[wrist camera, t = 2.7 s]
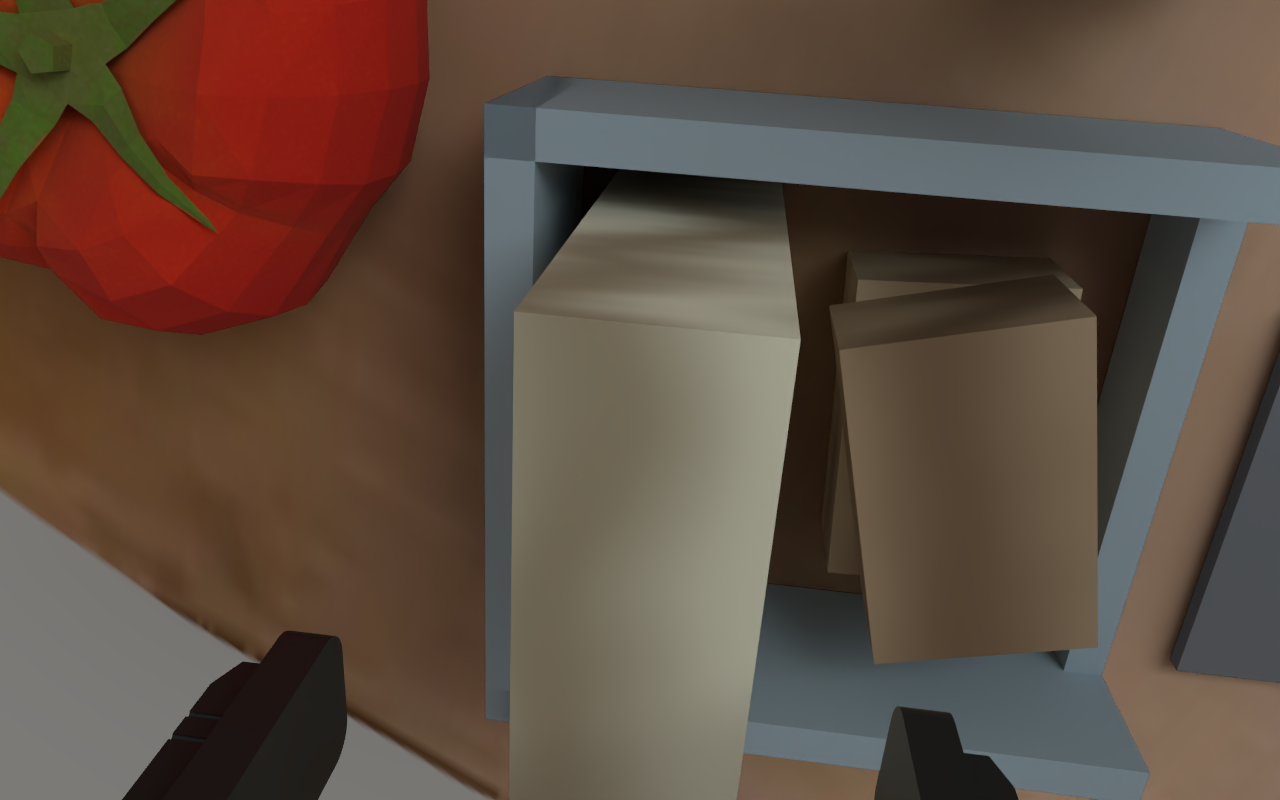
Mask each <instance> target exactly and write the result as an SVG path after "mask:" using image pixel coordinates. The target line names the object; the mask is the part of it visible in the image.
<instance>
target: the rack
mask: <svg viewBox="0 0 1280 800" xmlns="http://www.w3.org/2000/svg"><path fill="white" fill-rule="evenodd" d="M584 166H593V167H605V168H617V169H629V170H641V171H652V172H664V173H676V174H688V175H699V176H711V177H723V178H735V179H747V180H758V181H770V182H782V183H794V184H806V185H817V186H829V187H841V188H853V189H865V190H876V191H888V192H900V193H912V194H924V195H935V196H947V197H959V198H971V199H983V200H994V201H1006V202H1018V203H1030V204H1042V205H1053V206H1065V207H1077V208H1089V209H1101V210H1112V211H1124V212H1136V213H1148V214H1151V218H1150V221H1149V225H1148V228H1147V232H1146V235H1145V239H1144V242H1143V246H1142V250H1141V253H1140V257H1139V260H1138V264H1137V267H1136V271H1135V275H1134V278H1133V282H1132V285H1131V289H1130V292H1129V296H1128V299H1127V303H1126V307H1125V310H1124V314H1123V317H1122V321H1121V324H1120V328H1119V332H1118V335H1117V339H1116V342H1115V346H1114V349H1113V353H1112V356H1111V360H1110V364H1109V367H1108V371H1107V374H1106V378H1105V381H1104V385H1103V388H1102V392H1101V396H1100V399H1099V403H1098V406H1097V521H1098V648H1086V649H1072V650H1059V651H1045V652H1032V653H1019V654H1005V655H992V656H978V657H965V658H951V659H938V660H924V661H911V662H898V663H884V664H874V660H873V655H872V649H871V643H870V637H869V631H868V626H867V620H866V614H865V608H864V602H863V597H862V595H861V594H852V593H844V592H835V591H827V590H818V589H810V588H801V587H792V586H784V585H775V584H767V586H766V593H765V600H764V607H763V614H762V621H761V629H760V636H759V643H758V650H757V657H756V665H755V672H754V679H753V686H752V693H751V700H750V708H749V715H748V722H747V729H746V736H745V744H744V751H743V753H747V754H755V755H763V756H770V757H778V758H786V759H793V760H801V761H809V762H816V763H824V764H832V765H839V766H847V767H855V768H862V769H870V770H877V771H880V767H881V762H882V758H883V753H884V749H885V744H886V740H887V735H888V731H889V726H890V722H891V717H892V714H893V711H894V709H895V708H896V707H897V706H900V707H909V708H917V709H925V710H933V711H941V712H949V713H951V714H952V716H953V718H954V721H955V724H956V727H957V731H958V735H959V738H960V742H961V745H962V749H963V752H964V753H969V754H977V755H985V756H989V757H990V758H991V759H992V760H993V761H994V763H995V764H996V765H997V766H998V768H999V769H1000V770H1001V771H1002V773H1003V774H1004V775H1005V776H1006V778H1007V779H1008V780H1009V781H1010V782H1011V784H1012V785H1013V786H1014V788H1015V789H1023V790H1031V791H1038V792H1046V793H1054V794H1061V795H1069V796H1076V797H1084V798H1092V799H1099V800H1141V797H1142V794H1143V791H1144V789H1145V786H1146V783H1147V781H1148V778H1149V775H1150V772H1149V770H1148V768H1147V766H1146V764H1145V762H1144V760H1143V758H1142V756H1141V754H1140V752H1139V750H1138V748H1137V746H1136V744H1135V742H1134V739H1133V737H1132V735H1131V733H1130V731H1129V729H1128V727H1127V725H1126V723H1125V721H1124V719H1123V717H1122V715H1121V713H1120V711H1119V709H1118V707H1117V705H1116V703H1115V701H1114V699H1113V697H1112V695H1111V693H1110V691H1109V689H1108V687H1107V685H1106V683H1105V681H1104V679H1103V677H1102V673H1103V670H1104V667H1105V664H1106V661H1107V658H1108V655H1109V651H1110V648H1111V645H1112V642H1113V639H1114V636H1115V633H1116V630H1117V627H1118V624H1119V620H1120V617H1121V614H1122V611H1123V608H1124V605H1125V602H1126V599H1127V596H1128V593H1129V589H1130V586H1131V583H1132V580H1133V577H1134V574H1135V571H1136V568H1137V565H1138V562H1139V558H1140V555H1141V552H1142V549H1143V546H1144V543H1145V540H1146V537H1147V534H1148V531H1149V528H1150V524H1151V521H1152V518H1153V515H1154V512H1155V509H1156V506H1157V503H1158V500H1159V497H1160V493H1161V490H1162V487H1163V484H1164V481H1165V478H1166V475H1167V472H1168V469H1169V466H1170V462H1171V459H1172V456H1173V453H1174V450H1175V447H1176V444H1177V441H1178V438H1179V435H1180V431H1181V428H1182V425H1183V422H1184V419H1185V416H1186V413H1187V410H1188V407H1189V404H1190V401H1191V397H1192V394H1193V391H1194V388H1195V385H1196V382H1197V379H1198V376H1199V373H1200V370H1201V366H1202V363H1203V360H1204V357H1205V354H1206V351H1207V348H1208V345H1209V342H1210V339H1211V335H1212V332H1213V329H1214V326H1215V323H1216V320H1217V317H1218V314H1219V311H1220V308H1221V305H1222V301H1223V298H1224V295H1225V292H1226V289H1227V286H1228V283H1229V280H1230V277H1231V274H1232V270H1233V267H1234V264H1235V261H1236V258H1237V255H1238V252H1239V249H1240V246H1241V243H1242V239H1243V236H1244V233H1245V230H1246V227H1247V224H1248V222H1254V223H1266V224H1277V225H1280V147H1279V146H1276V145H1273V144H1270V143H1266V142H1263V141H1260V140H1257V139H1254V138H1251V137H1247V136H1244V135H1241V134H1238V133H1235V132H1231V131H1228V130H1225V129H1222V128H1212V127H1199V126H1186V125H1174V124H1161V123H1148V122H1135V121H1122V120H1109V119H1096V118H1083V117H1071V116H1058V115H1045V114H1032V113H1019V112H1006V111H993V110H981V109H968V108H955V107H942V106H929V105H916V104H903V103H890V102H878V101H865V100H852V99H839V98H826V97H813V96H800V95H788V94H775V93H762V92H749V91H736V90H723V89H710V88H698V87H685V86H672V85H659V84H646V83H633V82H620V81H607V80H595V79H582V78H569V77H556V76H546V77H543V78H541V79H539V80H537V81H534V82H532V83H530V84H527V85H525V86H523V87H521V88H518V89H516V90H514V91H512V92H509V93H507V94H505V95H503V96H500V97H498V98H496V99H494V100H491V101H489V102H487V103H485V104H484V306H485V695H486V719H487V720H495V721H502V722H510V651H511V555H512V460H513V364H514V311H515V310H516V308H517V307H518V306H519V304H520V303H521V302H522V300H523V299H524V298H525V296H526V295H527V294H528V292H529V291H530V289H531V288H532V287H533V285H534V284H535V283H536V281H537V280H538V279H539V277H540V276H541V275H542V273H543V272H544V271H545V269H546V268H547V267H548V265H549V264H550V262H551V261H552V260H553V258H554V257H555V256H556V254H557V253H558V252H559V250H560V249H561V248H562V246H563V245H564V244H565V242H566V241H567V240H568V238H569V237H570V235H571V234H572V233H573V231H574V230H575V229H576V227H577V226H578V225H579V223H580V222H581V221H582V199H583V174H584Z"/></svg>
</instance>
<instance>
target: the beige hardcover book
mask: <svg viewBox="0 0 1280 800" xmlns="http://www.w3.org/2000/svg"><path fill="white" fill-rule="evenodd" d="M800 341H801V338H800V329H799V321H798V313H797V304H796V296H795V288H794V279H793V271H792V263H791V255H790V246H789V238H788V230H787V221H786V213H785V205H784V196H783V188H782V182H770V181H758V180H747V179H735V178H723V177H711V176H699V175H688V174H676V173H664V172H652V171H641V170H629V169H619V171H618V172H617V173H616V175H615V176H614V177H613V179H612V180H611V181H610V183H609V184H608V185H607V187H606V188H605V190H604V191H603V192H602V194H601V195H600V196H599V198H598V199H597V200H596V202H595V203H594V204H593V206H592V207H591V208H590V210H589V211H588V213H587V214H586V215H585V217H584V218H583V219H582V221H581V222H580V223H579V225H578V226H577V227H576V229H575V230H574V231H573V233H572V234H571V235H570V237H569V238H568V240H567V241H566V242H565V244H564V245H563V246H562V248H561V249H560V250H559V252H558V253H557V254H556V256H555V257H554V258H553V260H552V261H551V262H550V264H549V265H548V267H547V268H546V269H545V271H544V272H543V273H542V275H541V276H540V277H539V279H538V280H537V281H536V283H535V284H534V285H533V287H532V288H531V289H530V291H529V292H528V294H527V295H526V296H525V298H524V299H523V300H522V302H521V303H520V304H519V306H518V307H517V308H516V310H515V311H514V364H513V460H512V555H511V651H510V746H509V800H737V794H738V787H739V779H740V772H741V765H742V758H743V751H744V744H745V736H746V729H747V722H748V715H749V708H750V700H751V693H752V686H753V679H754V672H755V665H756V657H757V650H758V643H759V636H760V629H761V621H762V614H763V607H764V600H765V593H766V586H767V578H768V571H769V564H770V557H771V550H772V542H773V535H774V528H775V521H776V514H777V507H778V499H779V492H780V485H781V478H782V471H783V463H784V456H785V449H786V442H787V435H788V428H789V420H790V413H791V406H792V399H793V392H794V384H795V377H796V370H797V363H798V356H799V349H800Z"/></svg>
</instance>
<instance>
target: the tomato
mask: <svg viewBox="0 0 1280 800" xmlns="http://www.w3.org/2000/svg"><path fill="white" fill-rule="evenodd" d="M428 82H429V54H428V25H427V0H0V257H3V258H7V259H11V260H16V261H20V262H24V263H28V264H32V265H36V266H41V267H45V268H49V269H52V270H53V272H54V273H55V274H56V275H57V276H58V277H59V278H60V279H61V280H62V281H63V282H64V283H65V284H66V285H67V286H68V287H69V288H70V289H71V290H72V291H73V292H74V293H75V294H76V295H77V296H78V297H79V298H80V299H81V300H83V301H84V302H85V303H86V304H87V305H88V306H89V307H90V308H91V309H92V310H93V311H94V312H95V313H96V314H97V315H98V316H99V317H100V318H101V319H105V320H110V321H115V322H120V323H124V324H129V325H134V326H139V327H143V328H148V329H153V330H158V331H167V332H178V333H189V334H199V335H202V334H206V333H210V332H213V331H217V330H221V329H225V328H229V327H233V326H237V325H241V324H245V323H249V322H252V321H256V320H260V319H264V318H268V317H272V316H275V315H278V314H281V313H283V312H286V311H289V310H292V309H294V308H297V307H300V306H303V305H305V304H307V303H308V302H309V301H310V300H311V299H312V298H313V296H314V295H315V294H316V293H317V292H318V290H319V289H320V288H321V287H322V286H323V284H324V283H325V282H326V281H327V280H328V278H329V276H330V275H331V273H332V272H333V270H334V268H335V267H336V265H337V263H338V262H339V260H340V258H341V257H342V255H343V253H344V252H345V250H346V249H347V247H348V245H349V244H350V242H351V240H352V239H353V237H354V235H355V234H356V232H357V231H358V229H359V227H360V226H361V224H362V222H363V221H364V219H365V217H366V216H367V214H368V212H369V211H370V209H371V208H372V206H373V205H374V204H375V203H376V201H377V200H378V199H379V198H380V197H381V195H382V194H383V193H384V192H385V191H386V189H387V188H388V187H389V186H390V185H391V183H392V182H393V181H394V180H395V179H396V177H397V176H398V175H399V174H400V173H401V171H402V170H403V169H404V168H405V167H406V165H407V164H408V163H409V162H410V161H411V156H412V152H413V148H414V143H415V139H416V134H417V130H418V126H419V121H420V117H421V113H422V108H423V104H424V99H425V95H426V91H427V86H428Z"/></svg>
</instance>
